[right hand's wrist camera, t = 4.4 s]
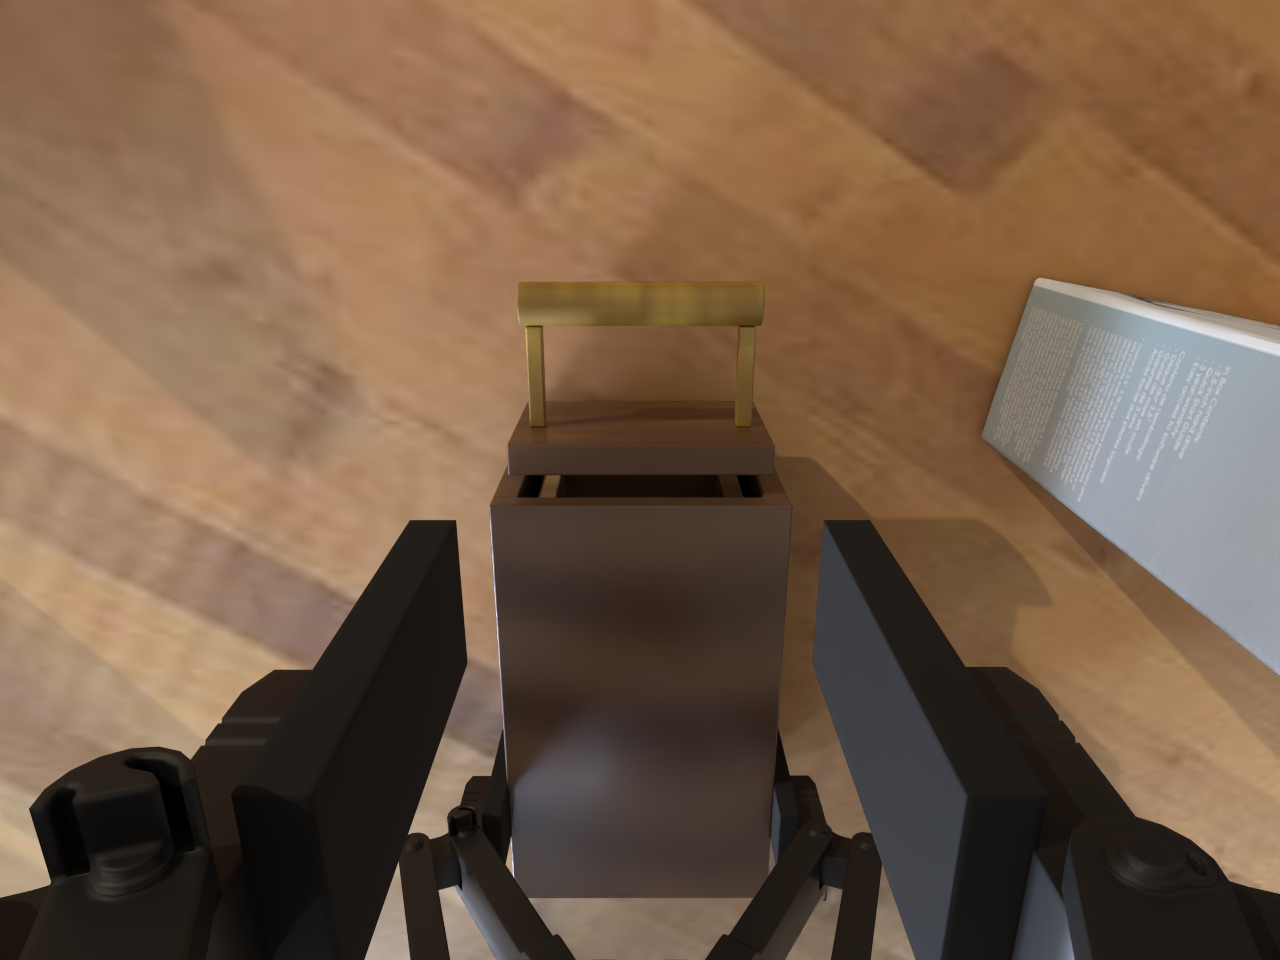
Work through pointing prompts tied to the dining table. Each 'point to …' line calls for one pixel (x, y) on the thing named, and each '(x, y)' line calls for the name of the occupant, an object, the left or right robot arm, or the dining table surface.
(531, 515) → the cabinet
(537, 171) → the dining table surface
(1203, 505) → the hard drive box
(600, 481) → the drawer
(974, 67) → the dining table surface
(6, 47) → the dining table surface
